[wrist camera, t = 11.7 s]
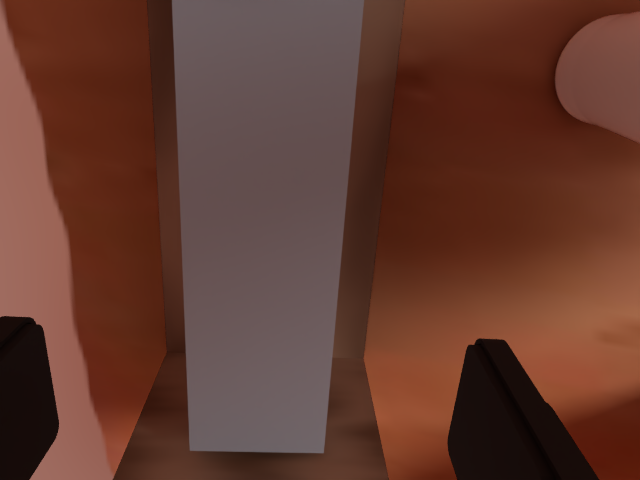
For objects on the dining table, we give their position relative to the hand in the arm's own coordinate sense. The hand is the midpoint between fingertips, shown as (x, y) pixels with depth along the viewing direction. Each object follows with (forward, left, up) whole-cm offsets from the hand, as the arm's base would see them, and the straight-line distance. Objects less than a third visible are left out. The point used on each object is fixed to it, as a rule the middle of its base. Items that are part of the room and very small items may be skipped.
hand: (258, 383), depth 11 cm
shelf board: (0, 0, -11) cm, 11 cm away
